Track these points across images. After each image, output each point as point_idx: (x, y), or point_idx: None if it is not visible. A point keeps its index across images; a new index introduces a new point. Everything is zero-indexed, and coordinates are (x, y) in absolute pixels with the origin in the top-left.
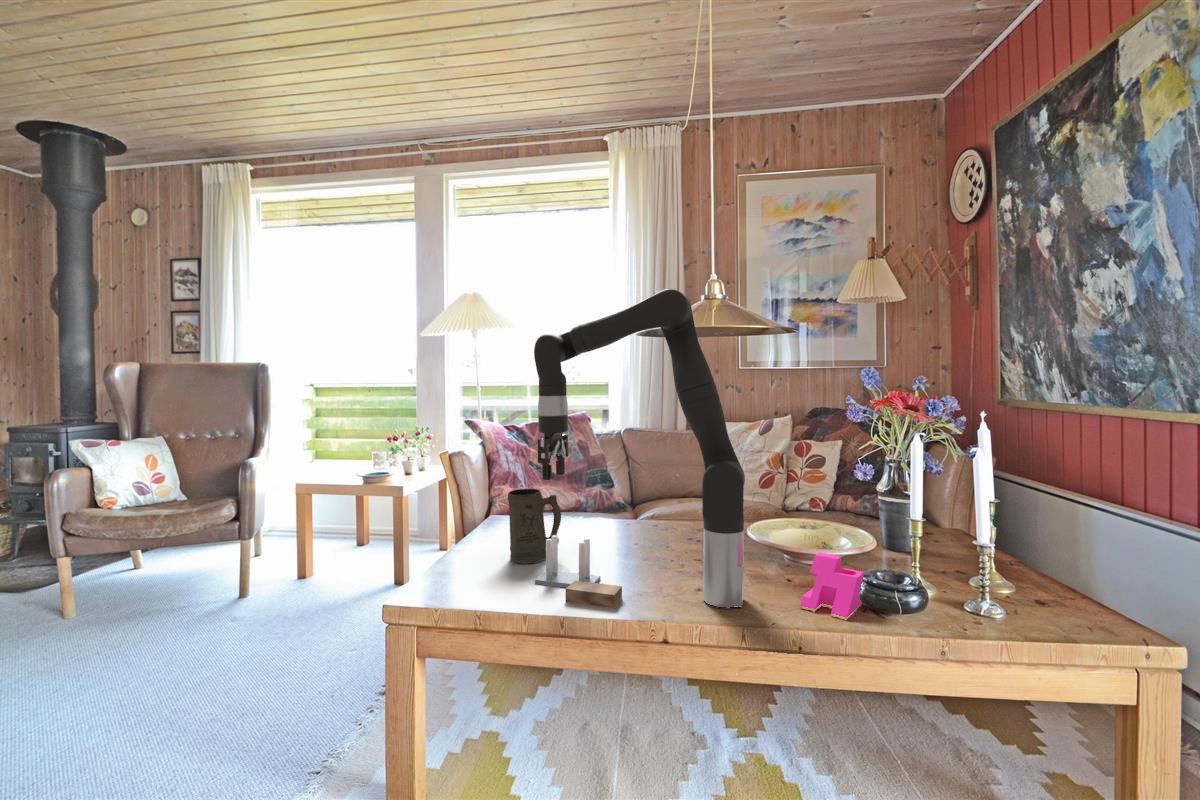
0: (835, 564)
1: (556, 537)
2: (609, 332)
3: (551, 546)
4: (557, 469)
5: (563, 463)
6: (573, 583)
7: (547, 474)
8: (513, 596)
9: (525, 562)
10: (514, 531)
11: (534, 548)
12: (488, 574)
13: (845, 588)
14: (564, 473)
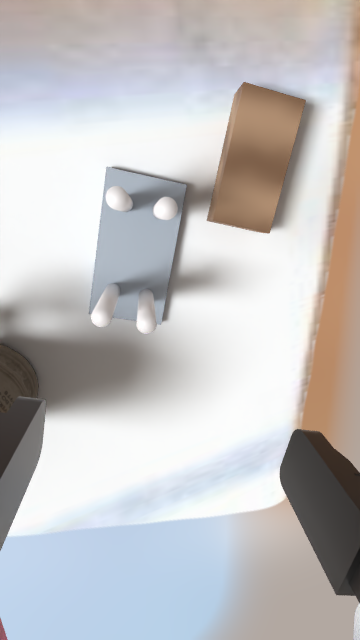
0: None
1: (107, 308)
2: None
3: (150, 310)
4: (25, 480)
5: (3, 475)
6: (233, 220)
7: (357, 475)
8: (236, 343)
9: (37, 379)
10: None
11: (10, 376)
12: (120, 427)
13: None
14: (28, 398)
